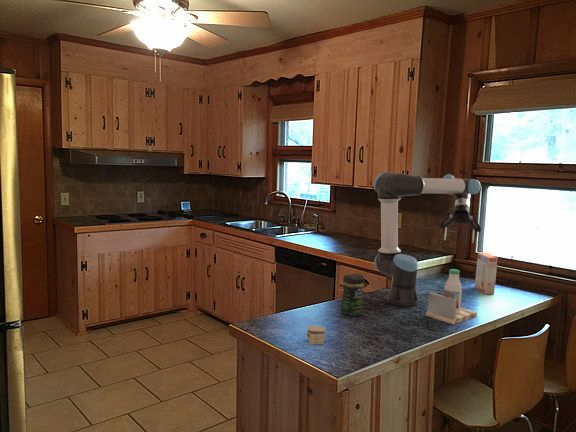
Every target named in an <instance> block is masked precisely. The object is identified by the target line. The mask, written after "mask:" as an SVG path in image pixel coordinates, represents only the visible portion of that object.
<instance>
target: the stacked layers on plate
mask: <svg viewBox="0 0 576 432" xmlns="http://www.w3.org/2000/svg"><path fill="white" fill-rule="evenodd" d="M306 328H307V329H306V331H307V334H306V338H307V339H308V343H309V344H310V345H324V341H325V335H326V327H321V326H318V325H317V326H316V325H308V326H306Z"/></svg>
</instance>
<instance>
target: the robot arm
mask: <svg viewBox="0 0 576 432" xmlns="http://www.w3.org/2000/svg"><path fill="white" fill-rule="evenodd" d="M373 188H374V191H375V192H376V193H377V200H378V201H379V202H380V235H381V236H380V242H381V246H380V248H378V250H377V252H378V253H377V254H376V256H375V257H374V267H375V268H376V270H377V271H378V272H379V273H381V274H382V275H384V276H388V277H390V278H391V279H392V280H391V287H390V290H389V292H388V294H387V297H386V300H387V302H388V303H389V304H390V305H391V304H392V305H395V306H398V307H405V308H407V307H408V308H409V307H416V306H418V304H419V297H418V296H419V295H418V293H417V288H416V287H417V286H416V285H417V275H418V268H419V267H418V260H417V258H415V257H414V256H412V255H408V254H402V250H401V248H399V201H400V200H401V199H402V197H409V196H420V195H421V194H451V195H452V196H453V197H454V198H455V201H454V211H453V214H452V213H450V212H447V215H446V217H445V218H444V219H443V220H442V222H440V224H439V229H441V230H442V234H443V235H444V238H443V240H444V241H446V240H447V231H448V228H450V227H451V226H452V225H454V224H456V223H457V224H465V225H467V226H468V227H469V228H470V229H471V230H472V241H471V243H472V244H473V243H475V242H474V241H475V238H477V235H478V233H481V232H482V228H481V225H480V223H479V222H478V221H477V218H476V215H475V214H472V215H470V207H471V206H470V205H471V196H472V195H476V194H478V193H479V192H480V190H481V183H480V181H479V180H477V179H474V178H460V177H459V178H458V177H455V176H454V175H452V174H451V173H447V174H445V175H444V176H443V177H442V178H440V177H439V178H438V177H437V178H435V177H434V178H432V177H422V176H419V175H413V174H412V175H411V174H406V173H401V172H390V171H386V172H381V173H379V174H378V175H377V176H376V178H375V179H374V182H373ZM450 219H451V220H450ZM470 220H471V221H472V222H471V221H470Z"/></svg>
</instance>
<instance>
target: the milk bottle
mask: <svg viewBox="0 0 576 432" xmlns="http://www.w3.org/2000/svg"><path fill="white" fill-rule="evenodd" d="M460 273H461V271H460V270H459V269H457V268H450V269H449V270H448V274H449V275H448V278H447V280H446V282H445V284H444V287H443V288H444V289H443V296H446V297H450V298H453V299H457V301H456V312H455V314H459V313H460V307H461V301H462V293H463V292H462V291H463V290H462V284H461V281H460Z"/></svg>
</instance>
